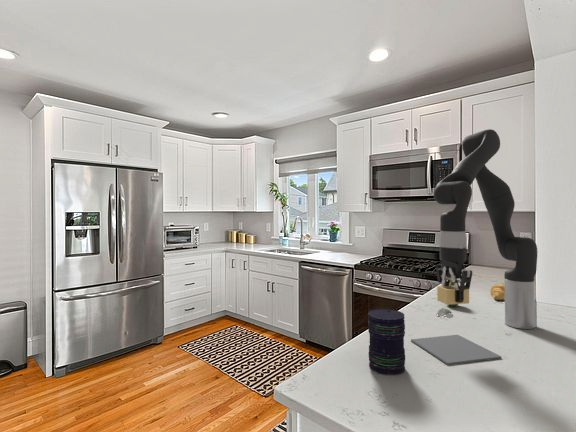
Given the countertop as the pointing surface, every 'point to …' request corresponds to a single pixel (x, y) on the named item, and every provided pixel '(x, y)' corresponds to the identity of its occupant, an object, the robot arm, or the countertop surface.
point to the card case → (450, 295)
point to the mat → (455, 349)
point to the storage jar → (386, 341)
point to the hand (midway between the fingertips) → (452, 299)
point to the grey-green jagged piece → (444, 313)
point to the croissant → (498, 291)
